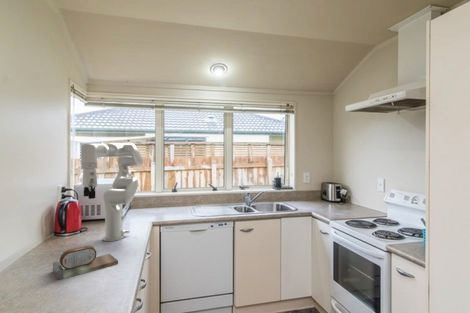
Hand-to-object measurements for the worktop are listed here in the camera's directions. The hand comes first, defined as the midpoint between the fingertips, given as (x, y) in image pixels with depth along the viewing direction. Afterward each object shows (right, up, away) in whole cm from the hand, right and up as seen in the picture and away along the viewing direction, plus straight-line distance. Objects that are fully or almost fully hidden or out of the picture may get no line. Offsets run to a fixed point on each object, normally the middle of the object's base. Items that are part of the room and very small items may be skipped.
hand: (89, 197), depth 145 cm
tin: (+7, -29, -21) cm, 37 cm away
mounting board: (+10, -31, -18) cm, 37 cm away
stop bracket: (+1, -31, -27) cm, 41 cm away
